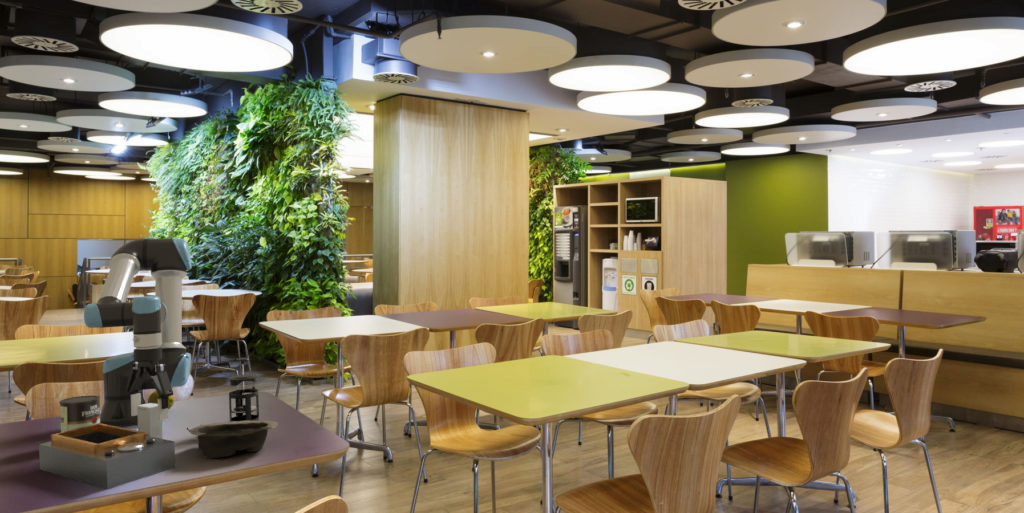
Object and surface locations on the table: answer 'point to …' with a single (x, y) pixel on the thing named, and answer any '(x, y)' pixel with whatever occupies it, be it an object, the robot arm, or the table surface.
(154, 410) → the skincare box
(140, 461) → the grey open box
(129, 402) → the robot arm
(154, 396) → the lemon
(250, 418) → the french press
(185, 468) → the table surface
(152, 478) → the table surface
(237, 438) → the stone bowl
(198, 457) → the table surface
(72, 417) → the coffee can
